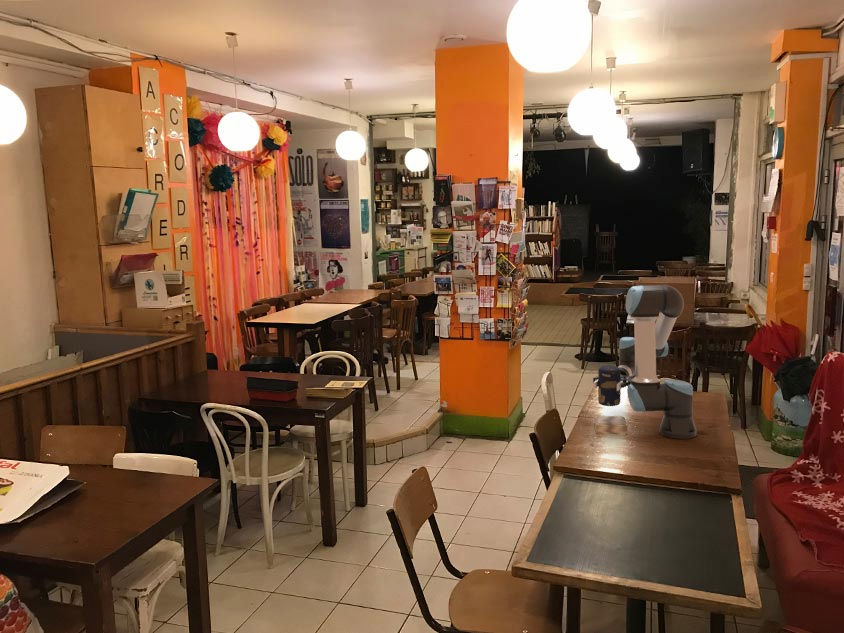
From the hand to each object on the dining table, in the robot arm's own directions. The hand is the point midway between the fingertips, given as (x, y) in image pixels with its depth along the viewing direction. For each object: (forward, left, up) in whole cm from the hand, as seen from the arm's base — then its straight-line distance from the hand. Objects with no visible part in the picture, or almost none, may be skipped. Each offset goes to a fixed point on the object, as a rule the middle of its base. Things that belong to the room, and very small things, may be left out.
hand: (606, 386), depth 300 cm
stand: (-2, -4, -21) cm, 21 cm away
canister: (-2, -4, -10) cm, 11 cm away
